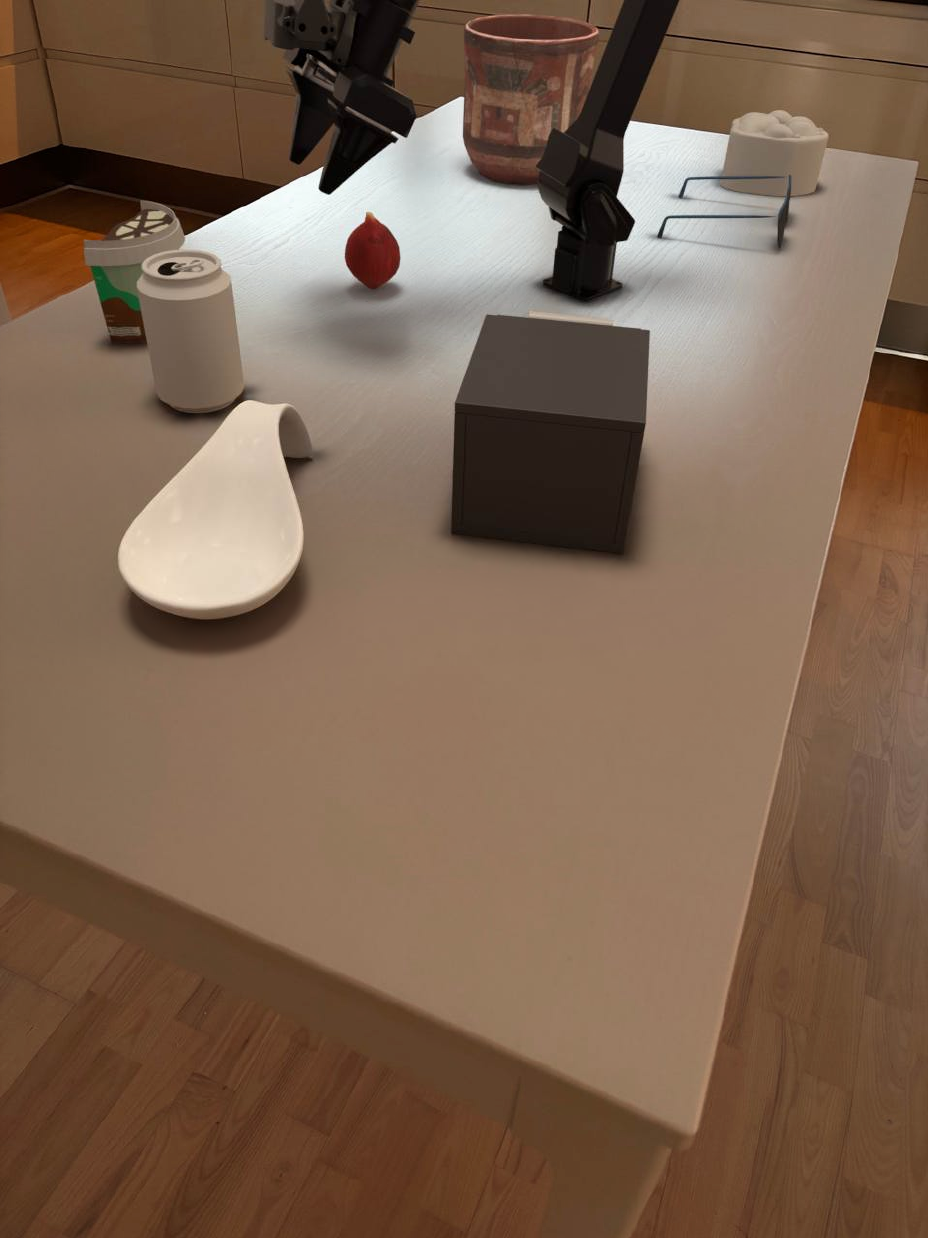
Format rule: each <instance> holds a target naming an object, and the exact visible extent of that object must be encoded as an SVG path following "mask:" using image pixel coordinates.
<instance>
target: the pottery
mask: <svg viewBox="0 0 928 1238" xmlns="http://www.w3.org/2000/svg"><path fill="white" fill-rule="evenodd" d="M599 37H600V29H599V28H597V27H596V26H594V25H592V24H591V23H589V22H584V21H582V20H577V19H573V18H568V17H559V16H553V15H552V16H551V15H540V14H539V15H538V14H498V15H489V16H482V17H477V18H475V19H472V20H469V21H468V22H467V23H466V24H465V25H464V26H463V47H464V48H463V49H464V50H463V51H464V88H463V89H464V90H463V91H464V92H463V118H462V120H463V121H462V140H463V144H464V148H465V150H466V152H467V156H468V157H469V159H470V162H471V163H472V165H473V166H474V167H475V168H476V170H477V171H478V172H479V173H480V175H481V176H483V177H485V179H488V180H491V181H493V182H497V183H502V184H507V185H514V186H515V185H518V186H535V185H536V186H537V180H538V176H539V172H540V170H538V169H537V168H536V165H537V164H538V162H539V161H540V160H541V158H542V156H543V154H544V152H545V149H546V145H547V141H548V137H549V134H550V132H551V130H552V129H553V128H556V129H558V130H560V131H561V132H563V133H564V132H565V131H566V130H567V129H568V128H569V127H570V126H571V125H572V124H573V123H574V122H575V121H576V119H577V118H578V116H579V115H580V113H581V110H582V108H583V105H584V103H585V100H586V97H587V95H588V92H589V90H590V87H591V80H592V73H593V68H594V63H595V58H596V54H597V50H598V46H599Z"/></svg>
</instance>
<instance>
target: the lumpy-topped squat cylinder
mask: <svg viewBox="0 0 928 1238" xmlns="http://www.w3.org/2000/svg"><path fill="white" fill-rule="evenodd" d="M728 136H729V137H728V141H727V145H726V146H727V147H726V152H725V156H724V157H725V158H724V163H723V167H722V168H723V169H722V173H721V176H782V177H785V178H769V179H720V183H719V185H720V186H721V187H722V188H724V189H727V190H730V191H733V192H739V193H746V194H752V195H762V196H772V197H786V195H787V189H788V184H789V175H791V177H792V183H791V195H790V197H796V196H797V197H798V196H806V195H809V194H812V193H814V192H815V191H816V188H817V185H818V180H819V176H820V173H821V169H822V166H823V159H824V156H825V152H826V149H827V144H828V141H829V133H828V132H827V131H825V130H824V128H822V127H817V126H816V124H815V123H814V122H813V121H812V120H811V119H810V118H808V117H805V116H802V115H801V116H792V115H791V114H790V113H789V112H787V111H785V110H783V109H782V110H781V109H778V110H773V111H771V112H770V113H763V112H755V111H754V112H753V111H752V112H748V113H745V114H744V115H743V116H741V117H738V118H735V119H733V120H732V122H731V127H730V131H729V135H728Z"/></svg>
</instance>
